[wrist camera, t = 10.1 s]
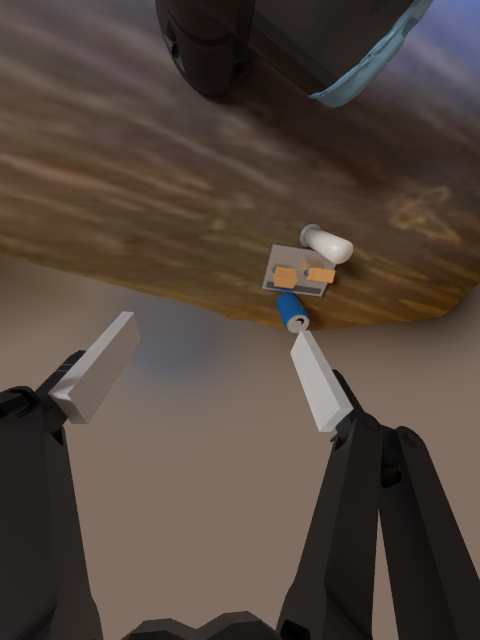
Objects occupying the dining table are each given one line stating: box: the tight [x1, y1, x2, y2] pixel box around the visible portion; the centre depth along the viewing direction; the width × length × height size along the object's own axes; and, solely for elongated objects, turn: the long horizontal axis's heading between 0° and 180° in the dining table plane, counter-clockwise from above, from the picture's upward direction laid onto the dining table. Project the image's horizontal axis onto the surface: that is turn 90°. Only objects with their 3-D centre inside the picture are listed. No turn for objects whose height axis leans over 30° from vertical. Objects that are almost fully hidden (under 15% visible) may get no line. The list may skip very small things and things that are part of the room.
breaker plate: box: [261, 242, 336, 296], centre depth 49 cm, size 12×18×2 cm, turn 81°
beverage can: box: [276, 293, 309, 333], centre depth 51 cm, size 6×6×12 cm
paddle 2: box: [306, 268, 335, 283], centre depth 46 cm, size 3×6×5 cm, turn 81°
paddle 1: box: [273, 267, 298, 289], centre depth 46 cm, size 3×6×5 cm, turn 80°
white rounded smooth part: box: [299, 224, 353, 264], centre depth 38 cm, size 5×5×16 cm
